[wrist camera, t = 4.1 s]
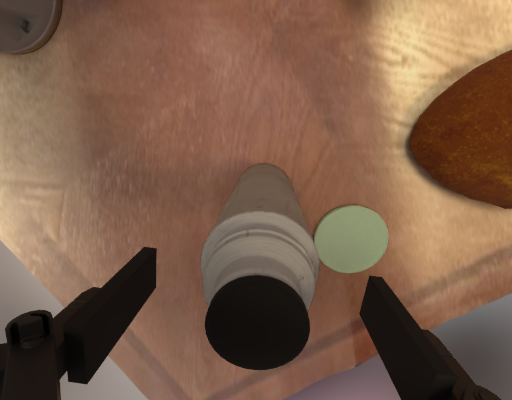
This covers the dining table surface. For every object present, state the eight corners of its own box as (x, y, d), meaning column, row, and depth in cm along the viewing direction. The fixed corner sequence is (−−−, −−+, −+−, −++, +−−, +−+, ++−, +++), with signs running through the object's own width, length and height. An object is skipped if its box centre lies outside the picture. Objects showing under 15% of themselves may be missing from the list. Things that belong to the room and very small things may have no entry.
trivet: (320, 200, 39) (321, 201, 38) (394, 209, 39) (397, 211, 38) (308, 266, 42) (308, 268, 41) (376, 274, 42) (378, 277, 41)
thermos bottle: (242, 219, 40) (191, 406, 13) (232, 167, 38) (147, 267, 11) (294, 211, 40) (350, 392, 13) (286, 158, 38) (335, 241, 11)
